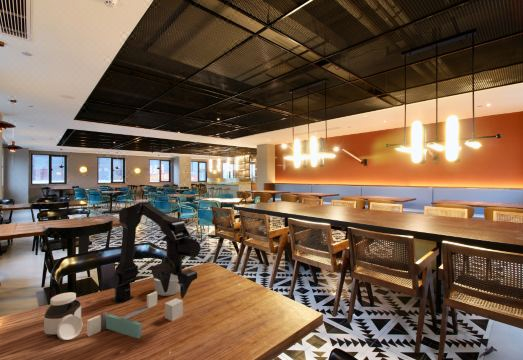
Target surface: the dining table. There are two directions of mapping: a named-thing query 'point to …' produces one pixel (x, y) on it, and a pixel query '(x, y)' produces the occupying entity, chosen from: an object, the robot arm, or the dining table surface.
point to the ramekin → (172, 288)
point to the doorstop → (173, 309)
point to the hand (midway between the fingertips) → (173, 295)
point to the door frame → (99, 321)
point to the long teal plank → (123, 326)
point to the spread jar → (63, 317)
